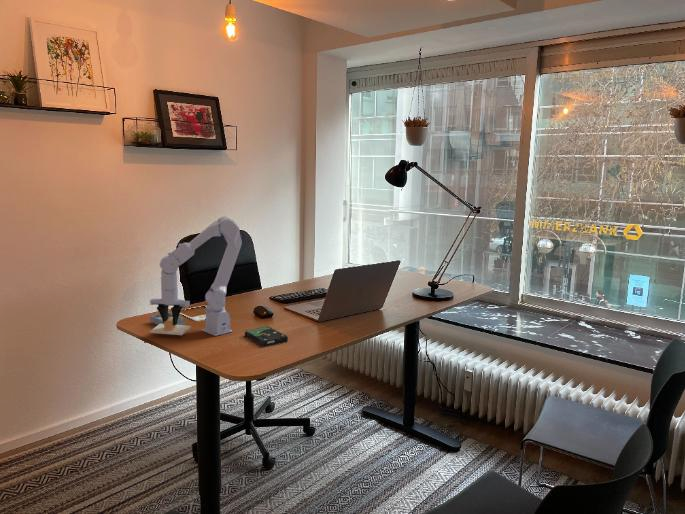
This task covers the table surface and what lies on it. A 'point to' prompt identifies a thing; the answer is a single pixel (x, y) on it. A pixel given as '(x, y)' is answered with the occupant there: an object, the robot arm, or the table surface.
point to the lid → (170, 328)
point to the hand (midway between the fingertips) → (170, 324)
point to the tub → (158, 320)
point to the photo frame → (196, 318)
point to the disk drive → (266, 336)
